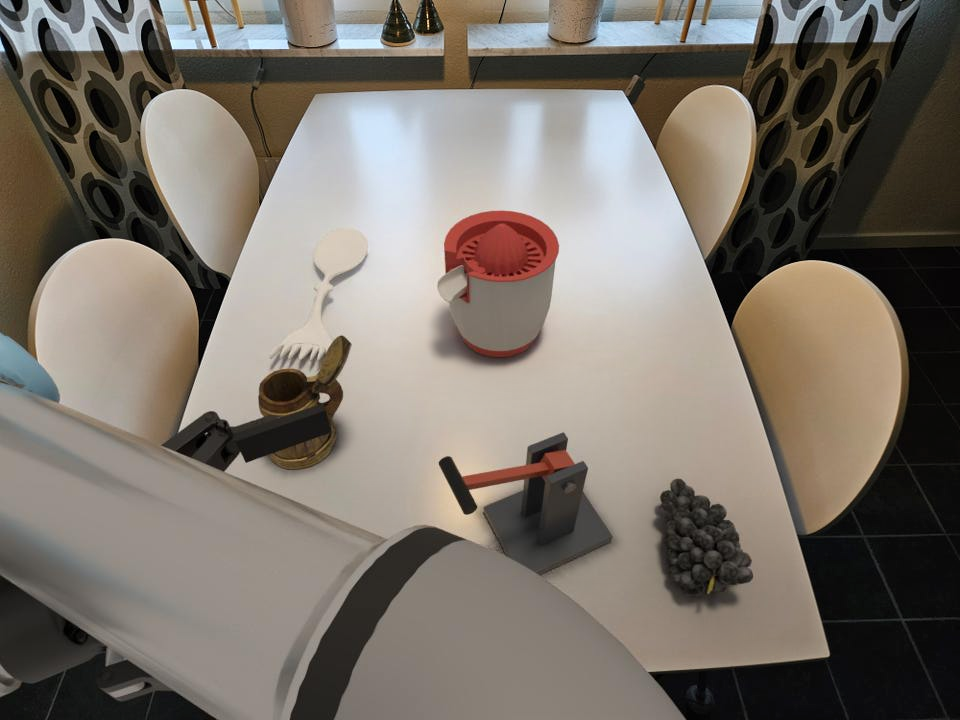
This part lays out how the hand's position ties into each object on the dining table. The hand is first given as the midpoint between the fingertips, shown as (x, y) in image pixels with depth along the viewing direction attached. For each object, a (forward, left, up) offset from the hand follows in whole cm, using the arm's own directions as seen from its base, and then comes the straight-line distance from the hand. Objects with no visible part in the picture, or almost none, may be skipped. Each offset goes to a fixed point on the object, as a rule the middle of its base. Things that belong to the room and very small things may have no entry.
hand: (356, 489), depth 44 cm
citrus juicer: (+42, -23, -32) cm, 58 cm away
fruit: (+2, -35, -32) cm, 48 cm away
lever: (+8, -14, -18) cm, 25 cm away
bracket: (+9, -20, -32) cm, 39 cm away
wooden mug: (+29, +5, -32) cm, 44 cm away
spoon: (+57, +1, -32) cm, 66 cm away
